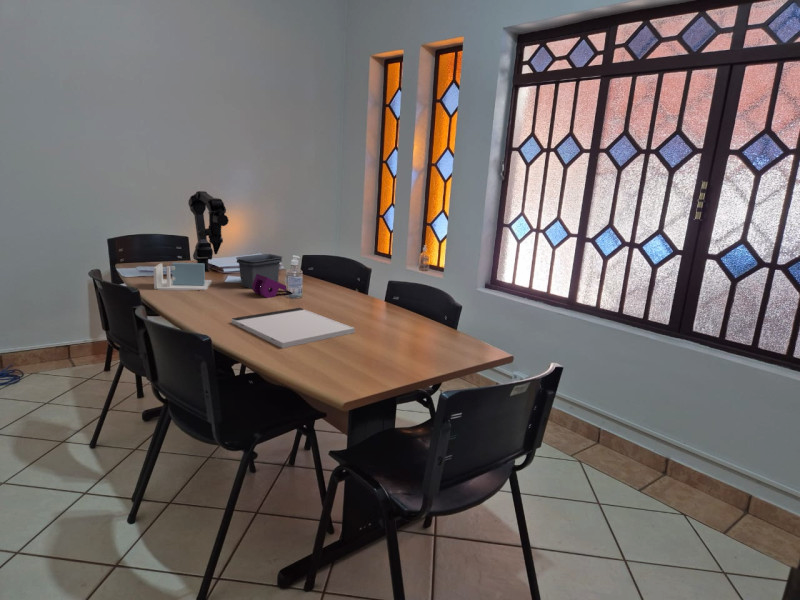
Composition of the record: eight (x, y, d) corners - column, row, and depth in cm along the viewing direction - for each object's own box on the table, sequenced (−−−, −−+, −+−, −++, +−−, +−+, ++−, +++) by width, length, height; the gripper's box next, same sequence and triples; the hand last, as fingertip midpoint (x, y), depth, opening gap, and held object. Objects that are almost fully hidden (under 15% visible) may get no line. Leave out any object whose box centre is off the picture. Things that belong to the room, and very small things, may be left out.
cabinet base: (164, 281, 259) (163, 259, 256) (211, 282, 263) (211, 261, 261) (154, 289, 241) (153, 267, 238) (205, 290, 245) (205, 268, 243)
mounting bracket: (280, 302, 256) (249, 290, 243) (286, 286, 257) (256, 273, 244) (290, 307, 250) (259, 294, 237) (297, 290, 251) (267, 277, 238)
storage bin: (250, 290, 251) (250, 261, 248) (230, 285, 260) (230, 256, 257) (285, 285, 268) (285, 257, 265) (265, 279, 277) (265, 252, 273)
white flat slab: (231, 318, 199) (300, 307, 221) (231, 324, 200) (300, 313, 222) (283, 342, 176) (354, 328, 197) (282, 349, 176) (354, 334, 198)
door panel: (173, 283, 250) (172, 262, 247) (204, 284, 252) (204, 263, 250) (171, 285, 246) (170, 264, 243) (203, 286, 249) (203, 265, 246)
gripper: (197, 221, 274) (198, 251, 278) (198, 225, 257) (199, 257, 261) (220, 221, 278) (221, 251, 282) (222, 226, 261) (223, 257, 265)
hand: (215, 254), depth 272 cm, fingers closed
